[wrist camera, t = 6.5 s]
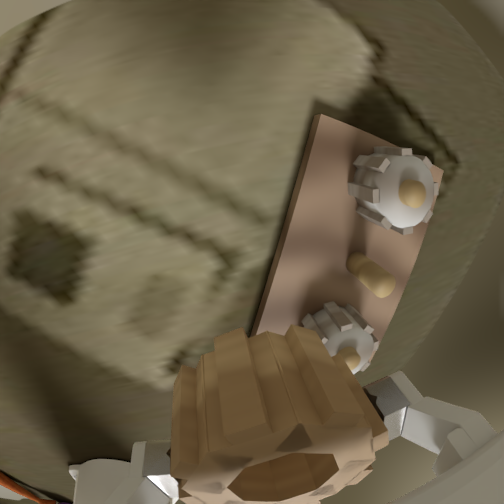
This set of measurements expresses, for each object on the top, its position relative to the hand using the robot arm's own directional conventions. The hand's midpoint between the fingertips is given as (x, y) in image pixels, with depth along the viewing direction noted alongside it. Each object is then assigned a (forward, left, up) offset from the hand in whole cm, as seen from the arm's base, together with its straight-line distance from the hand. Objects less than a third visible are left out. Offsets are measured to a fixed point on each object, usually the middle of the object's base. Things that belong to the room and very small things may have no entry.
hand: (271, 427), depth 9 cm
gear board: (+2, -11, -18) cm, 21 cm away
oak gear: (0, 0, -2) cm, 2 cm away
